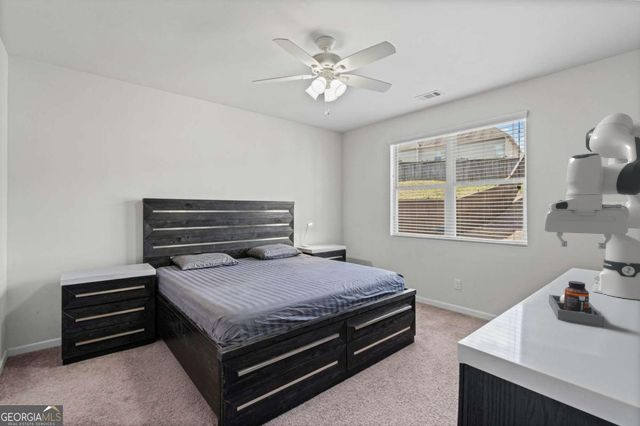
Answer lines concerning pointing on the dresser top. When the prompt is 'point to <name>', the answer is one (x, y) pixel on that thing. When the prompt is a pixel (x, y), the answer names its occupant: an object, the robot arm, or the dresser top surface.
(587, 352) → the dresser top surface
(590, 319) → the divided tray
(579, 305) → the supplement bottle
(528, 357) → the dresser top surface
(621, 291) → the robot arm
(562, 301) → the ceramic ball
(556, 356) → the dresser top surface
